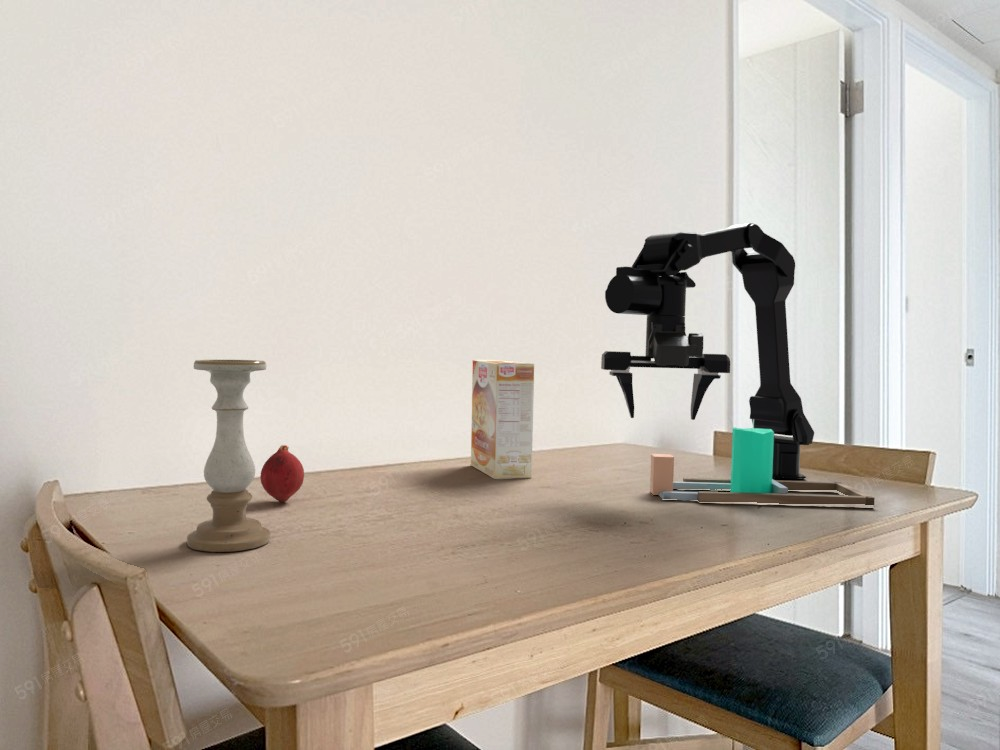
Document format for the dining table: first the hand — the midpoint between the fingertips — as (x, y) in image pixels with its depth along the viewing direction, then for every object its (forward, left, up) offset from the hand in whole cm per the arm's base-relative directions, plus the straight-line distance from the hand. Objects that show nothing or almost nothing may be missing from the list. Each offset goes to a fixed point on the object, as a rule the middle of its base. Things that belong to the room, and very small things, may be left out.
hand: (662, 418), depth 122 cm
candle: (0, +14, -12) cm, 18 cm away
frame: (0, +8, -12) cm, 14 cm away
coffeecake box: (-17, -25, -12) cm, 33 cm away
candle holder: (+36, -53, -12) cm, 65 cm away
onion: (+14, -54, -12) cm, 57 cm away
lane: (0, +17, -12) cm, 21 cm away
